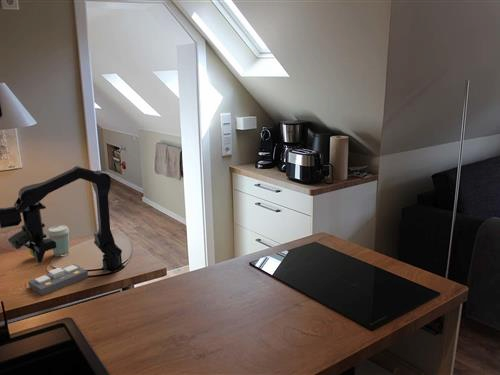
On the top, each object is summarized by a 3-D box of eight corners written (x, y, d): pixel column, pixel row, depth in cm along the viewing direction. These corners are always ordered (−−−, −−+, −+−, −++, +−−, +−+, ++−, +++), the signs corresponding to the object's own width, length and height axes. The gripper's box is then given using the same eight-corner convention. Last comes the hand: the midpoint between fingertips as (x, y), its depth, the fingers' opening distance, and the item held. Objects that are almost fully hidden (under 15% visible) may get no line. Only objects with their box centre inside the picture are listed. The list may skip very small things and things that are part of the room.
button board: (74, 269, 174) (73, 263, 174) (88, 276, 168) (87, 270, 168) (29, 287, 161) (28, 280, 160) (42, 295, 155) (41, 288, 154)
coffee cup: (68, 248, 195) (64, 223, 192) (75, 254, 189) (71, 228, 186) (48, 253, 190) (44, 228, 187) (54, 260, 184) (50, 233, 181)
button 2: (73, 269, 172) (72, 264, 171) (78, 272, 169) (78, 267, 169) (63, 273, 169) (63, 268, 168) (69, 276, 166) (68, 271, 166)
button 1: (46, 279, 164) (45, 275, 163) (51, 283, 161) (50, 278, 161) (35, 284, 161) (34, 279, 160) (40, 287, 158) (39, 282, 158)
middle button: (59, 272, 167) (58, 267, 167) (65, 275, 165) (64, 270, 164) (49, 276, 164) (48, 271, 164) (54, 279, 162) (54, 274, 161)
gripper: (-3, 223, 154) (5, 263, 158) (21, 234, 143) (28, 278, 147) (29, 214, 162) (36, 253, 167) (54, 225, 151) (60, 266, 155)
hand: (39, 262), depth 159 cm, fingers closed
